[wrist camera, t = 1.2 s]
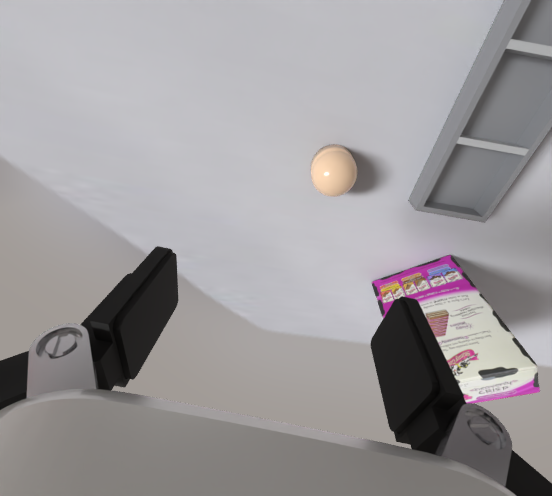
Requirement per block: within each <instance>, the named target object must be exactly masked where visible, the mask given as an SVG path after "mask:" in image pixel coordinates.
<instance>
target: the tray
mask: <svg viewBox="0 0 552 496" xmlns="http://www.w3.org/2000/svg"><path fill="white" fill-rule="evenodd" d="M551 127H552V0H504V2H503V4H502V6H501V8H500V10H499V12H498V14H497V16H496V18H495V20H494V23H493V25H492V27H491V29H490V31H489V33H488V35H487V37H486V39H485V41H484V43H483V45H482V48H481V50H480V52H479V54H478V56H477V58H476V60H475V62H474V64H473V66H472V68H471V70H470V73H469V75H468V77H467V79H466V81H465V83H464V85H463V87H462V89H461V91H460V93H459V96H458V98H457V100H456V102H455V104H454V106H453V108H452V110H451V112H450V114H449V116H448V118H447V121H446V123H445V125H444V127H443V129H442V131H441V133H440V135H439V137H438V139H437V141H436V144H435V146H434V148H433V150H432V152H431V154H430V156H429V158H428V160H427V162H426V164H425V166H424V169H423V171H422V173H421V175H420V177H419V179H418V181H417V183H416V185H415V187H414V189H413V192H412V194H411V196H410V198H409V200H408V201H409V202H410V203H411V205H412V206H413V207H414V209H415V210H417V211H423V212H428V213H434V214H440V215H445V216H451V217H457V218H462V219H468V220H474V221H479V222H486V220H487V219H488V217H489V216H490V215H491V213H492V212H493V210H494V209H495V207H496V206H497V205H498V203H499V202H500V200H501V199H502V197H503V196H504V195H505V193H506V192H507V190H508V189H509V187H510V186H511V185H512V183H513V182H514V180H515V179H516V177H517V176H518V175H519V173H520V172H521V170H522V169H523V167H524V166H525V165H526V163H527V162H528V160H529V159H530V157H531V156H532V155H533V153H534V152H535V150H536V149H537V147H538V146H539V145H540V143H541V142H542V140H543V139H544V137H545V136H546V135H547V133H548V132H549V130H550V129H551Z"/></svg>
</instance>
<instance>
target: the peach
mask: <svg viewBox="0 0 552 496" xmlns="http://www.w3.org/2000/svg"><path fill="white" fill-rule="evenodd" d="M311 177H312V182H313V184H314V186H315V188H316V189H317V190H318V191H319V192H320V193H322V194H324V195H326V196H330V197H336V196H340V195H343V194H345V193H346V192H348V191H349V190H350V189H351V188H352V187H353V185H354V183H355V181H356V179H357V166H356V163H355V161H354V159H353V157H352V155H351V153H350V152H349V151H348V150H347V149H346V148H345V147H343V146H341V145H335V144H333V145H328V146H325V147H323V148H321V149H320V150H319V151H318V152H317V153H316V154H315V155H314V157H313V159H312V162H311Z"/></svg>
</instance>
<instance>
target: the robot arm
mask: <svg viewBox="0 0 552 496" xmlns="http://www.w3.org/2000/svg"><path fill="white" fill-rule="evenodd" d="M177 284H178V283H177V260H176V254H175V253H173V252H172V250H171V249H168V248H163V247H156V248H155V249H154V250H153V251H152V252H151V253H150V254H149V255H148V256H147V257H146V259H145V260H144V261H143V262H142V263H141V264H140V265H139V267H137V269H136V270H135V271H134V272H133V273H132V274H131V273H130V274H127V275H126V276H125V277H124V278H123V279H122V280H121V281H120V283H118V285H117V286H116V287H115V288H114V289H113V290H112V291H111V292H110V293H109V295H107V297H106V298H105V299H104V300H103V301H102V302H101V303H100V304H99V305H98V306H97V307H96V308H95V310H94V311H93V312H92V313H91V314H90V315H89V316H88V317H87V318H86V319H85V320H84V322H83V323H82V324H81V325H78V324H70V323H68V324H62V325H58V326H55V327H53V328H50V329H49V330H47V331H45V332H43V333H42V334H41V335H39V336H38V337H37V338H36V339H35V340H34V341H33V343H32V344H31V346H30V349H29V351H27V352H24V353H21V354H18V355H15V356H13V357H10V358H7V359H4V360H1V361H0V496H552V483H550V482H549V481H548V480H547V479H546V478H544V477H543V476H542V475H541V474H540V473H539V472H537V471H536V470H535V469H534V468H533V467H531V466H530V465H529V464H528V463H527V462H526V461H524V460H523V459H522V458H521V457H520V456H519V455H517V454H516V453H515V452H514V451H513V450H512V441H511V438H510V436H509V433H508V432H507V430H506V429H505V427H504V425H503V424H502V423H501V422H500V421H499V420H498V419H497V418H496V417H495V416H494V415H493V414H492V413H491V412H489V411H488V410H486V409H485V408H483V407H481V406H479V405H476V404H472V403H466V401H465V399H464V397H463V396H464V395H463V393H462V391H461V389H460V387H459V384H458V382H457V380H456V378H455V376H454V374H453V372H452V370H451V368H450V366H449V364H448V362H447V360H446V358H445V356H444V354H443V352H442V350H441V347H440V345H439V343H438V341H437V339H436V337H435V335H434V333H433V331H432V329H431V327H430V325H429V323H428V321H427V319H426V317H425V315H424V313H423V310H422V308H421V306H420V304H419V302H418V301H417V300H416V299H413V298H408V297H403V296H401V297H400V298H399V299H395V300H394V302H393V303H392V305H391V307H390V309H389V310H388V312H387V314H386V315H385V317H384V319H383V320H382V322H381V324H380V326H379V327H378V329H377V331H376V332H375V334H374V336H373V337H372V340H371V349H372V354H373V358H374V362H375V367H376V371H377V375H378V380H379V384H380V388H381V393H382V397H383V402H384V406H385V410H386V415H387V419H388V423H389V427H390V429H391V430H392V431H393V432H394V434H395V438H396V441H397V442H401V443H407V444H411V448H412V449H409V448H404V447H399V446H395V445H391V444H386V443H382V442H377V441H371V440H367V439H362V438H357V437H352V436H348V435H343V434H338V433H332V432H328V431H323V430H318V429H313V428H308V427H303V426H298V425H293V424H288V423H283V422H278V421H273V420H268V419H263V418H258V417H253V416H248V415H243V414H238V413H233V412H228V411H223V410H217V409H212V408H206V407H202V406H196V405H192V404H186V403H181V402H176V401H171V400H165V399H159V398H154V397H148V396H143V395H137V394H131V393H125V392H118V391H111V390H112V388H113V387H114V385H115V386H120V387H126V385H127V383H128V381H129V380H130V379H134V378H135V377H136V376H137V374H138V373H139V371H140V369H141V367H142V365H143V364H144V362H145V360H146V359H147V357H148V355H149V353H150V352H151V350H152V348H153V346H154V345H155V343H156V341H157V340H158V338H159V336H160V334H161V332H162V331H163V329H164V327H165V326H166V324H167V322H168V320H169V319H170V317H171V315H172V314H173V312H174V310H175V308H176V306H177V303H178V285H177Z"/></svg>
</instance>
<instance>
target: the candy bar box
mask: <svg viewBox="0 0 552 496" xmlns="http://www.w3.org/2000/svg"><path fill="white" fill-rule="evenodd" d="M372 286H373V289H374V292H375V295H376V298H377V302H378V305H379V308H380V311H381V314H382V317H383V319H384V317H385V315H386V314H387V312H388V310H389V309H390V307H391V305H392V303H393V302H394V300H395V299H399V298H400V297H401V296H403V297H408V298H413V299H416V300H417V301H418V302H419V304H420V306H421V308H422V310H423V313H424V315H425V317H426V319H427V321H428V323H429V325H430V327H431V329H432V331H433V333H434V335H435V337H436V339H437V341H438V343H439V345H440V347H441V350H442V352H443V354H444V356H445V358H446V360H447V362H448V364H449V366H450V368H451V370H452V372H453V374H454V376H455V378H456V380H457V382H458V384H459V387H460V389H461V391H462V393H463V395H464V396H463V397H464V399H465V401H466V403H478V402H484V401H490V400H496V399H501V398H508V397H514V396H519V395H526V394H532V393H538V392H540V388H539V384H538V370H537V365H536V363H535V362H534V361H533V359H532V358H531V357H530V356H529V355H528V353H527V352H526V350H525V349H524V348H523V346H522V345H521V344H520V343H519V341H518V340H517V339H516V338H515V337H514V335H513V334H512V333H511V331H510V330H509V329H508V328H507V326H506V325H505V324H504V323H503V321H502V320H501V319H500V317H499V316H498V315H497V314H496V312H495V311H494V310H493V308H492V307H491V306H490V305H489V303H488V302H487V301H486V300H485V298H484V297H483V296H482V294H481V293H480V292H479V291H478V289H477V288H476V287H475V285H474V284H473V283H472V281H471V280H470V279H469V278H468V276H467V275H466V274H465V273H464V271H463V270H462V269H461V267H460V266H459V265H458V263H457V262H456V261H455V259H454V258H453V257H452V256H451V255H448V256H445V257H442V258H439V259H436V260H433V261H430V262H428V263H425V264H422V265H419V266H416V267H413V268H410V269H408V270H405V271H402V272H399V273H396V274H393V275H391V276H388V277H385V278H382V279H379V280H376V281H373V282H372Z"/></svg>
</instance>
